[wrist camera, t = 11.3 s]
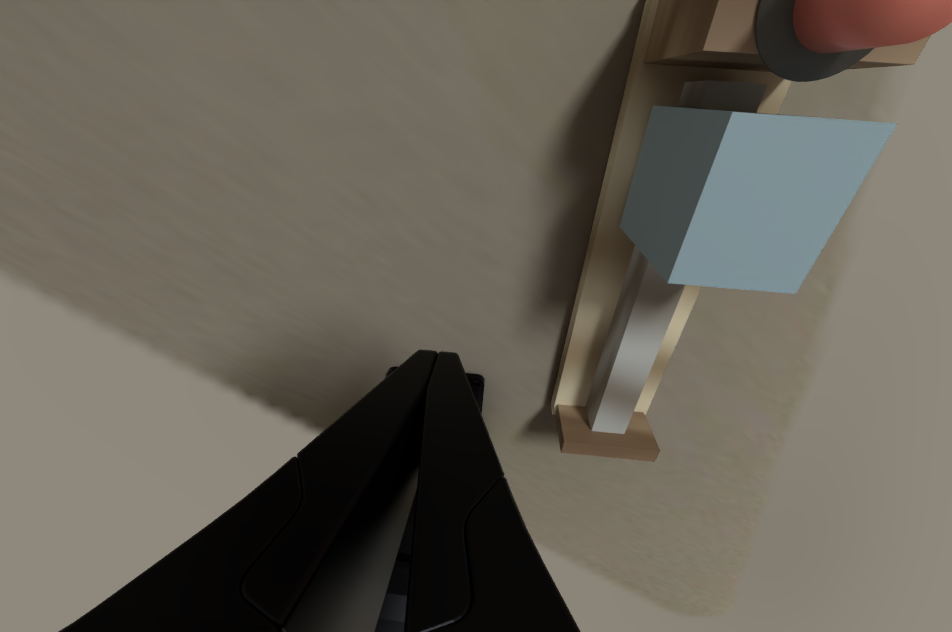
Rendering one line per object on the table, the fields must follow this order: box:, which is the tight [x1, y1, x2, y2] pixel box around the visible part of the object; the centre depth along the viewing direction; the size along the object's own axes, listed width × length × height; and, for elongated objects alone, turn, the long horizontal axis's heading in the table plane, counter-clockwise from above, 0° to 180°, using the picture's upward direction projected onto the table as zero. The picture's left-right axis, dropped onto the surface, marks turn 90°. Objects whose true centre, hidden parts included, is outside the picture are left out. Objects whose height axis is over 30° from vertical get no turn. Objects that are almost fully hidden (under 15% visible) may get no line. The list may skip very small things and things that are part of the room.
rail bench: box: [551, 0, 931, 462], centre depth 17 cm, size 23×6×6 cm, turn 177°
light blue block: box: [619, 105, 897, 294], centre depth 13 cm, size 5×4×6 cm
